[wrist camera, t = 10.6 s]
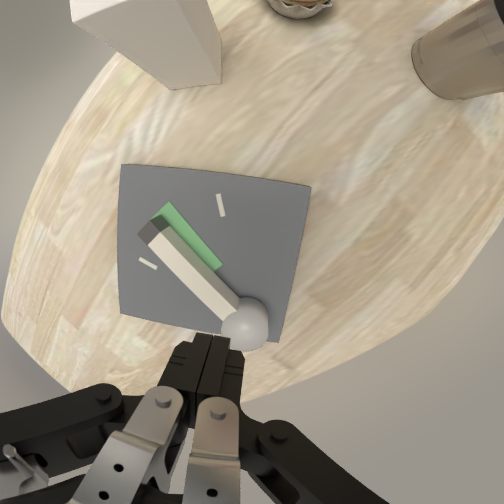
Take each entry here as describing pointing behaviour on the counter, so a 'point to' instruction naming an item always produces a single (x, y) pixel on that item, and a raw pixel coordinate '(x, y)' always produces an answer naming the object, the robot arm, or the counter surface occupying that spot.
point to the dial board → (208, 241)
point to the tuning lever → (209, 287)
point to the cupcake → (299, 7)
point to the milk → (158, 37)
